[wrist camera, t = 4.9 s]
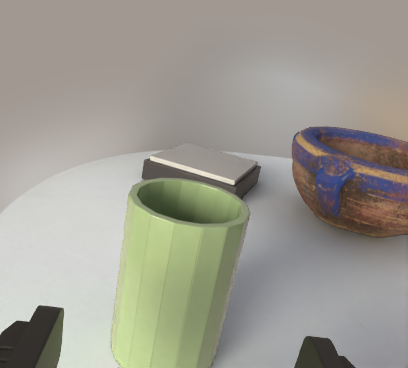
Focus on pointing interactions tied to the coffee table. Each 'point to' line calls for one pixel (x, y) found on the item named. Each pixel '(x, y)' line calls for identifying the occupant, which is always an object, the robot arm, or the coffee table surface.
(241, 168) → the kitchen scale
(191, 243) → the light green cup
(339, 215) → the bowl
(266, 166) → the coffee table surface
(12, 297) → the coffee table surface
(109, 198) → the coffee table surface
